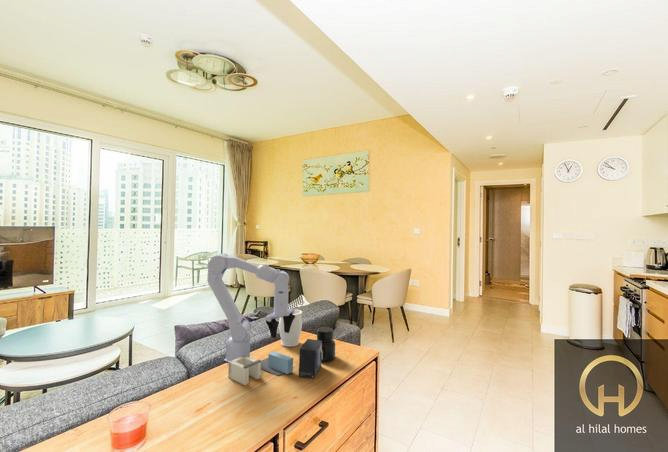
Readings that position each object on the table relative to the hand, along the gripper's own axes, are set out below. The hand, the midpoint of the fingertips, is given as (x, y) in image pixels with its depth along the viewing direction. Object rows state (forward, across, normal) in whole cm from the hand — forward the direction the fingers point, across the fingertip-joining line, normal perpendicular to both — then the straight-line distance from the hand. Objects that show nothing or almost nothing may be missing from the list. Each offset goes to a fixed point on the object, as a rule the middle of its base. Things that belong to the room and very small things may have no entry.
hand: (280, 334), depth 129 cm
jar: (+11, +16, +9) cm, 21 cm away
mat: (+10, -6, -2) cm, 12 cm away
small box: (+11, 0, -16) cm, 19 cm away
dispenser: (+10, -18, 0) cm, 21 cm away
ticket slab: (+10, -6, -6) cm, 13 cm away
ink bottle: (+11, +13, -13) cm, 21 cm away
